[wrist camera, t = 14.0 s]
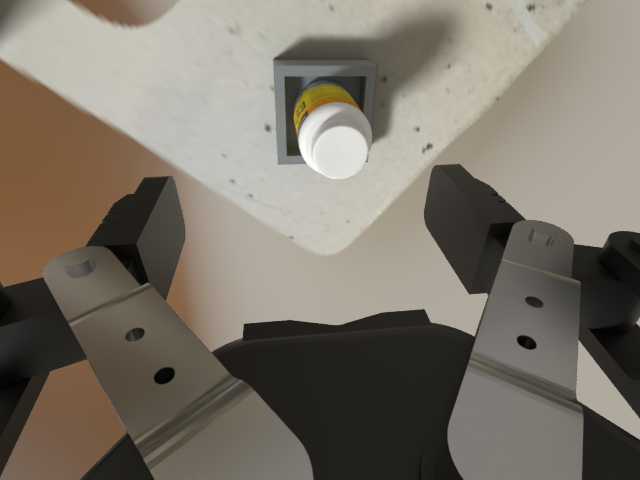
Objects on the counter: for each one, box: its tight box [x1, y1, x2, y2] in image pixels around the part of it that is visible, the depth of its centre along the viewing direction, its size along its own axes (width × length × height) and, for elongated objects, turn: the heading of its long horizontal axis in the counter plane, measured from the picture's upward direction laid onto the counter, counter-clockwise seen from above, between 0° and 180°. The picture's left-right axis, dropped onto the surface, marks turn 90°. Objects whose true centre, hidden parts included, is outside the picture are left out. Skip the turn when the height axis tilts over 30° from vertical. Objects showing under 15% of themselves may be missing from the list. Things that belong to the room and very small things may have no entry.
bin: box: [273, 59, 377, 165], centre depth 34 cm, size 8×8×3 cm
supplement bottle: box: [293, 80, 372, 179], centre depth 30 cm, size 6×6×10 cm
